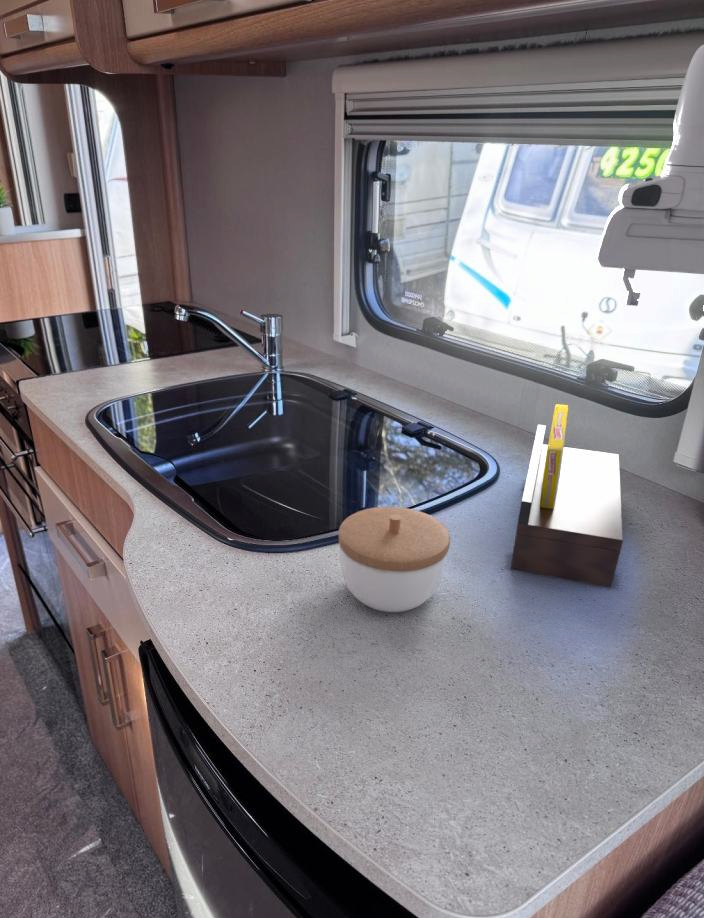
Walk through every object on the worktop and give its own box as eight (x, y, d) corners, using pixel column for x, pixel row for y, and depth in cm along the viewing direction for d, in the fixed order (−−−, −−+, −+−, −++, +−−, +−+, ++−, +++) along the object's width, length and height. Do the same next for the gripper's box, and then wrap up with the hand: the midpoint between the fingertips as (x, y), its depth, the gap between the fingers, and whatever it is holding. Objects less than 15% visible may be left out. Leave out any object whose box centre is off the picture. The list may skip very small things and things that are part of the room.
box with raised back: (608, 499, 109) (623, 435, 104) (610, 593, 88) (628, 518, 83) (527, 487, 113) (537, 424, 108) (509, 574, 91) (521, 501, 86)
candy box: (545, 457, 104) (555, 402, 100) (561, 459, 104) (571, 404, 100) (536, 507, 91) (547, 446, 87) (554, 510, 90) (565, 449, 86)
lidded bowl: (413, 644, 79) (421, 559, 73) (316, 606, 85) (317, 525, 79) (459, 589, 88) (469, 509, 83) (369, 558, 94) (373, 482, 89)
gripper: (789, 193, 87) (754, 309, 94) (609, 186, 93) (589, 296, 99) (801, 197, 82) (763, 320, 88) (609, 190, 87) (588, 306, 94)
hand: (669, 307), depth 94 cm, fingers open, 8 cm apart
